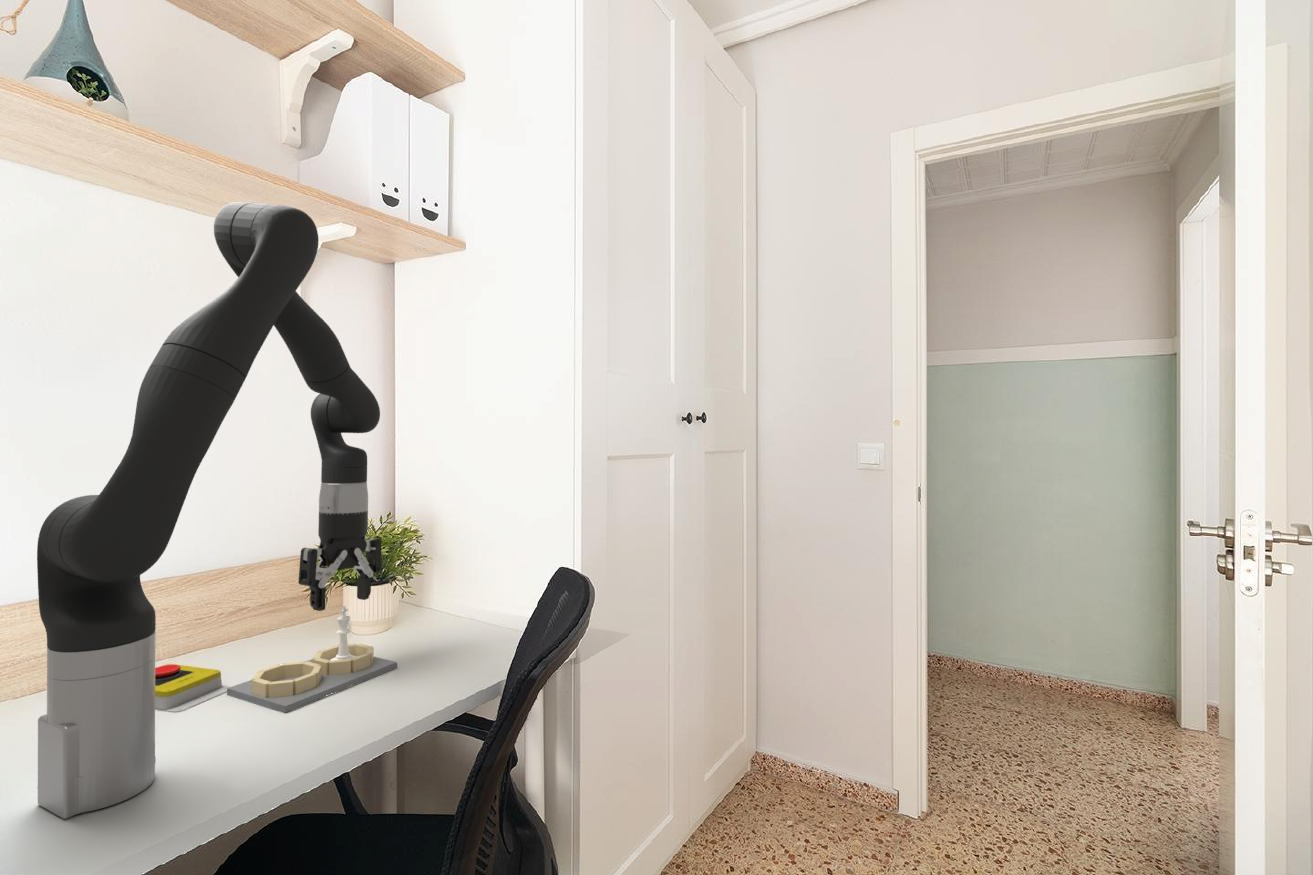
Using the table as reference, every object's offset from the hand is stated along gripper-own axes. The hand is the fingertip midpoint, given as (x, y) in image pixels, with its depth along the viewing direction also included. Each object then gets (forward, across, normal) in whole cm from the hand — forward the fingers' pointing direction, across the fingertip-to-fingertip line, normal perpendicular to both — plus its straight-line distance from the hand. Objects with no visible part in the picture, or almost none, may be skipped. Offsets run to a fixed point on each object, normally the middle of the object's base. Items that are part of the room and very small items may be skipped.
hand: (341, 604), depth 108 cm
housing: (+11, -5, 0) cm, 12 cm away
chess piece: (+10, 0, 0) cm, 11 cm away
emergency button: (+12, -18, +15) cm, 27 cm away
